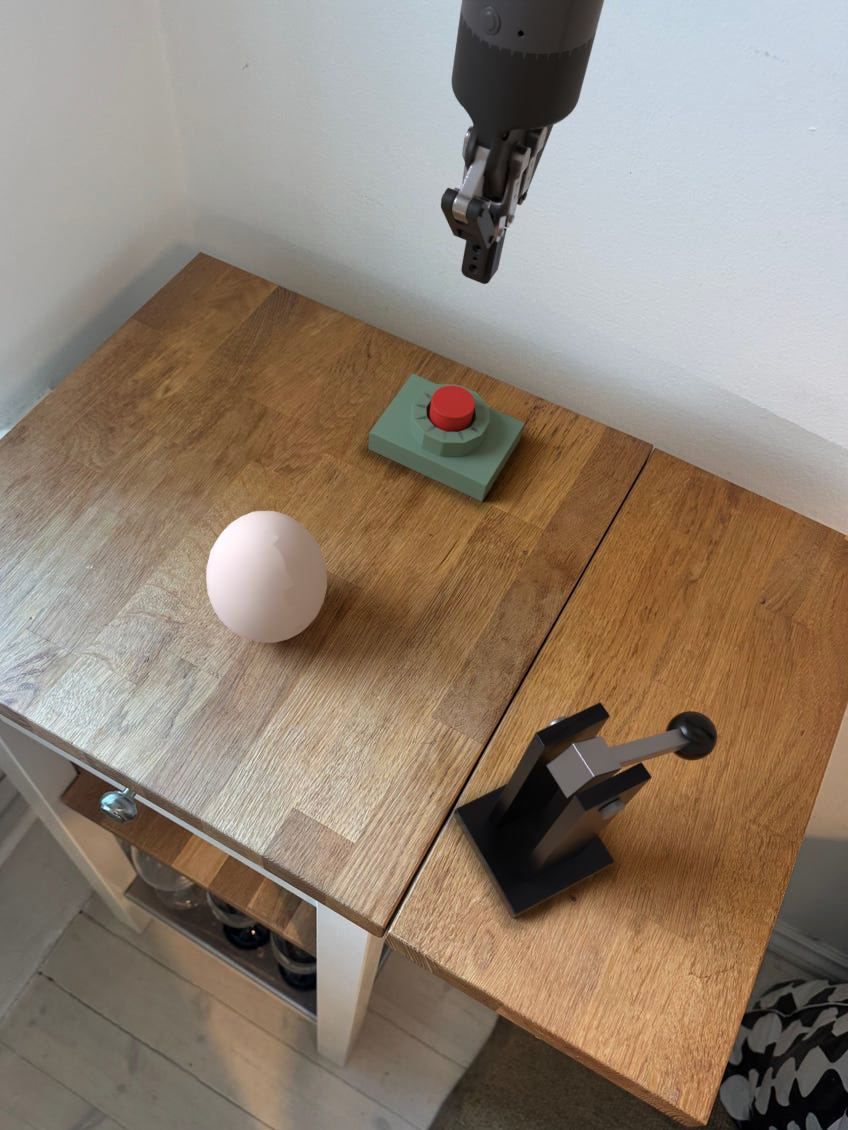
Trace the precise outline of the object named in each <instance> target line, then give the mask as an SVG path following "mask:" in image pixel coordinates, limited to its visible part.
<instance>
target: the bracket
mask: <svg viewBox="0 0 848 1130" xmlns="http://www.w3.org/2000/svg"><path fill="white" fill-rule="evenodd" d="M610 717H611V715H610V714H609V712H608V711H607V709H606V708H605V706H604V705H603V703H602V702H600V701H599V702H596V704H593V705H591V706H589V707H587V708H584V709H582V710H581V711H578V712H577V713H574V714H572V715H570V716H567V715H562V716H560V717H557V718H555V719H554V720H552V721H551V722H550V723H548V724H547V726H545V727H544V728H543V729H540V730H538V731H536V732H535V733H534V734H533V736H532V739H531V740H530V742H529V743H528V746H527V747H526V749H525V751H524V752H523V755H522V756H521V758H520V760H519V762H518V764H517V765H516V767H515V769H514V771H513V773H512V774H511V776H510V778H509V780H508V781H507V783H506V784H503V785H502V786H499V787H498V788H496V789H494V790H492V791H489V792H487V793H485V794H483V795H481V796H479V797H477V798H475V799H473V800H471V801H469V802H466V803H465V804H463V805H460V806H459V807H457V808H455V809H454V811H453V813H452V815H453V817H454V819H455V821H456V823H457V824H458V826H459V828H460V830H461V832H462V833H463V835H464V837H465V838H466V840H467V842H468V843H469V845H470V847H471V849H472V851H473V852H474V854H475V856H476V858H477V860H478V861H479V863H480V865H481V867H482V868H483V870H484V872H485V874H486V876H487V878H488V879H489V881H490V882H491V885H492V886H493V888H494V890H495V892H496V893H497V895H498V897H499V899H500V900H501V902H502V904H503V907H505V909H506V911H507V913H508V914H509V916H510V918H511V919H514V918H516V917H518V916H520V915H522V914H524V913H526V912H527V911H530V910H531V909H533V908H535V907H537V906H538V905H541V904H542V903H544V902H546V901H548V900H550V899H552V898H554V897H555V896H557V895H560V894H561V893H563V892H565V891H567V890H569V889H571V888H572V887H575V886H576V885H578V884H580V883H581V882H583V881H586V880H587V879H589V878H591V877H593V876H595V875H596V874H598V873H601V872H603V871H604V870H606V869H608V868H611V866H612V865H613V864H614V863H615V860H614V858H613V857H612V855H611V853H610V852H609V850H608V848H607V847H606V846H605V844H604V842H603V840H602V839H601V837H600V836H599V835H600V834H601V833H602V831H603V830H605V829H606V827H607V826H608V825H609V824H610V823H611V822H612V821H613V820H614V819H615V818H616V817H617V816H618V814H620V812H621V811H623V810H624V809H625V808H626V806H627V805H628V804H629V803H630V802H631V800H633V798H634V797H635V796H636V795H637V794H638V793H639V792H640V791H641V790H642V789H643V788H644V786H646V784H648V782H649V781H650V780H651V779H652V775H651V774H650V772H649V771H648V769H647V768H646V766H645V765H644V764H643V761H642V762H639V763H636V764H633V765H631V767H628V768H626V769H624V770H623V771H622V770H621V771H619V772H618V773H616V774H615V775H613V776H612V777H611V778H609V779H607V780H605V781H603V782H601V783H599V784H597V785H595V786H593V787H591V788H589V789H587V790H585V791H583V792H581V793H579V794H577V795H575V796H573V797H570V798H566V796H565V794H564V793H563V791H562V790H561V788H560V787H559V785H558V783H557V782H556V780H555V779H554V777H553V775H552V774H551V772H550V771H549V769H548V767H547V764H549V763H550V762H551V761H552V760H553V759H554V758H556V757H557V756H558V755H559V754H560V753H562V752H563V751H564V750H565V749H566V748H568V747H569V746H570V745H571V744H572V743H575V742H579V741H583V740H587V739H591V738H595V737H597V736H598V734H599V733H600V731H601V730H602V728H603V727H604V725H605V724H606V723H607V721H608V720H609V718H610Z"/></svg>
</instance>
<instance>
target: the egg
mask: <svg viewBox="0 0 848 1130" xmlns="http://www.w3.org/2000/svg"><path fill="white" fill-rule="evenodd" d="M205 581H206V588H207V595H208V599H209V601H210V604H211V606H212V609H213V611H214V612H215V614H216V616H217V617H218V619H219V620H220V621H221V622H222V623H223V625H224V626H225V627H226V628H227V629H229V630H230V631H231V632H233V633H234V634H236V635H238V636H239V637H241V638H244V639H245V640H248V641H252V642H256V643H259V644H274V643H279V642H283V641H287V640H289V639H291V638H294V637H295V636H298V635H300V633H302V632H303V631H305V630H306V629H307V628H308V627H309V626H310V625H311V624H312V623H313V621H314V620H315V619H316V618H317V616H318V614H319V612H320V610H321V609H322V606H323V604H324V603H325V598H326V595H327V594H326V593H327V587H328V573H327V564H326V561H325V558H324V555H323V552H322V549H321V546H320V545H319V543H318V541H317V540H316V539H315V538H314V536H313V535H312V534H311V533H310V532H309V531H308V529H307V528H306V527H305V526H303V524H301V522H299V521H297V520H296V519H294V518H293V517H291V516H289V515H287V514H284V513H281V512H278V511H275V510H255V511H251V512H249V513H246V514H244V515H241V516H239V517H238V518H237V519H235V520H233V521H232V522H231V523H229V524H228V525H227V526H226V527H225V529H223V531H222V532H221V533H220V534H219V536H218V537H217V539H216V541H215V542H214V544H213V546H212V547H211V549H210V552H209V556H208V561H207V564H206V578H205Z"/></svg>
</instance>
